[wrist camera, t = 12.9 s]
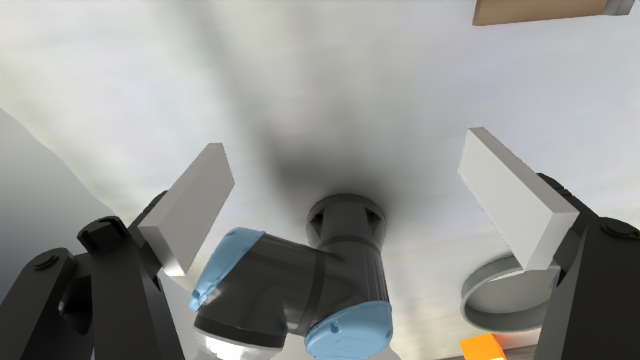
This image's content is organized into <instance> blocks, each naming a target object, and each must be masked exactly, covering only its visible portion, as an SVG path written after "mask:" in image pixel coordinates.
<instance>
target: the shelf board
mask: <svg viewBox="0 0 640 360" xmlns="http://www.w3.org/2000/svg"><path fill="white" fill-rule="evenodd" d="M634 2H635V0H477V3H476V9H475V14H474V19H473V24H472V25H475V26H484V25H495V24H506V23H517V22H528V21H539V20H550V19H561V18H572V17H583V16H594V15H612V16H620V15H628V14H629V12H630V10H631V8H632V6H633V4H634Z"/></svg>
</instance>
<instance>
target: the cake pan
mask: <svg viewBox="0 0 640 360" xmlns="http://www.w3.org/2000/svg"><path fill="white" fill-rule="evenodd" d="M559 269H560V266H559V264H557V263H556V262H554V261H551V263H550V265H549V266H548V268H547V270H530V271H525V272H524V273H521V274H518V275H514V276H510V277H506V278H502V279H499V280H495V281H491V282H488V281H490V280H492V279H494V278H497V277H499V276H502V275H505V274H508V273H511V272H515V271H520V270H524V269H523V267H522V266H521V264H520V263H519V262H518V260H517V259H516V257H509V258H505V259H501V260H498V261H495V262H492V263H490V264H488V265H486V266H484V267H482V268H480V269H479V270H477V271H476V272H474V273H473V274H472V275H471V276H470V277H469V278H468V279H467V280H466V281H465V283H464V285H463V287H462V302H461V306H460V310H461V314H462V316H463V318H464V319H465V321H466V322H468V323H469V324H470V325H472V326H474V327H476V328H478V329H481V330H485V331H490V332H498V333H514V332H523V331H529V330H533V329H537V328H541V327H542V326H543V322H544V318H545V315H546V311H547V307H548V303H549V300H550V296H551V292H552V289H553V288H550V287H549V285H550V283H551V282H552V280H553V279H554V277H555V275H556V274H557V272H558V271H559Z"/></svg>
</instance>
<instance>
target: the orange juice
mask: <svg viewBox="0 0 640 360" xmlns="http://www.w3.org/2000/svg"><path fill="white" fill-rule="evenodd" d="M459 343H460V345H461V348H462V351H463V354H464V357H465V359H466V360H507V359H506V357H505V355H504V353H503V351H502V349H501V347H500V345H499V343H498V342H497V341H496V339H495V338H494V337H493V336H492V334H491V333H489V334H486V335H482V336H478V337H474V338H470V339H467V340H463V341H459Z"/></svg>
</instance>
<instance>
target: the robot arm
mask: <svg viewBox="0 0 640 360" xmlns="http://www.w3.org/2000/svg"><path fill="white" fill-rule="evenodd" d="M458 175H459V176H460V178H461V179H462V181H463V182H464V184H465V185H466V186H467V188H468V189H469V191H470V192H471V194H472V195H473V197H474V198H475V199H476V201H477V202H478V204H479V205H480V207H481V208H482V210H483V211H484V212H485V214H486V215H487V217H488V218H489V220H490V221H491V223H492V224H493V225H494V227H495V228H496V230H497V231H498V233H499V234H500V236H501V237H502V238H503V240H504V241H505V243H506V244H507V246H508V247H509V249H510V250H511V251H512V253H513V254H514V256H515V257H516V259H517V260H518V262H519V263H520V264H521V266H522V267H523V269H524V270H547V268H548V266H549V265H550V263H551V261H552V259H553V258H554V260H555V261H556V262H557V263H558V264H559V266H560V269H559V271H558V272H557V274H556V275H555V277H554V279H553V280H552V282H551V283H550V285H549V287H550V288H553V289H552V292H551V296H550V300H549V303H548V307H547V311H546V315H545V318H544V322H543V326H542V329H541V333H540V337H539V340H538V344H537V348H536V351H535V355H534V359H533V360H640V231H639V230H638V229H637V228H635V227H633V226H631V225H630V224H628V223H625V222H622V221H620V220H617V219H612V218H608V217H599V216H598V215H597V214H595V213H594V212H593V211H592V210H591V209H589V208H588V207H587V206H586V205H585V204H583V203H582V202H581V201H580V200H579V199H577V198H576V197H575V196H572V194H571V193H570V192H569V191H568V190H567V189H564V187H563V186H562V185H561V184H559V183H558V182H557V181H556V180H555V179H552V178H550V177H548V176H546V175H544V174H542V173H535V172H534V171H532V170H531V169H530V168H529V167H528V166H527V165H526V164H525V163H523V162H522V161H521V160H520V159H519V158H518V157H517V156H515V155H514V154H513V153H512V152H511V151H510V150H509V149H507V148H506V147H505V146H504V145H503V144H502V143H501V142H500V141H498V140H497V139H496V138H495V137H494V136H493V135H492V134H490V133H489V132H488V131H487V130H486V129H485V128H484V127H479V128H468V129H467V134H466V138H465V142H464V147H463V151H462V156H461V160H460V164H459V169H458ZM234 184H235V182H234V179H233V176H232V173H231V170H230V166H229V163H228V160H227V157H226V154H225V151H224V147H223V144H222V143H210V144H208V145H207V146H206V147H205V149H204V150H203V151H202V152H201V153H200V154H199V156H198V157H197V158H196V159H195V160H194V161H193V162H192V164H191V165H190V166H189V167H188V168H187V169H186V171H185V172H184V173H183V174H182V175H181V176H180V178H179V179H178V180H177V181H176V182H175V183H174V185H173V186H172V187H171V188H170V189H169V190H166V191H164V192H162V193H161V194H159V195H158V196H156V197H155V198H154V199H153V200H152V201H151V203H150V204H149V206H147V207H146V208H145V209H144V210H143V213H141V214H140V215H139V216H138V217H137V218H136V219H135V220H134V222H133V223H132V224H131V225H130V226H129V227H128V228H126V227H125V225H124V224H123V222H122V221H121V219H120V218H119V217H117V216H107V217H104V218H100V219H98V220H95V221H94V222H91V223H90V224H88V225H87V226H85V227H84V228H83V229H82V230H81V231H80V232H79V233H78V235H77V239H78V240H79V241H80V242H81V244H82V245H83V246H84V247H85V248H86V250H87V251H88V252H87V253H84V254H79V255H75V256H73V255H72V254H71V253H70V252H69V251H68V250H67V249H66V248H56V249H52V250H49V251H47V252H44V253H42V254H40V255H38V256H36V257H35V258H34V259H33V260H31V261H30V262H29V263H28V264H27V265H26V266H25V267H24V268H23V269H22V271H21V273H20V275H19V276H18V278H17V279H16V281H15V283H14V284H13V286H12V287H11V289H10V291H9V292H8V294H7V296H6V297H5V299H4V301H3V302H2V304H1V305H0V360H90V359H91V356H92V351H93V348H94V353H95V360H185V357H184V354H183V351H182V348H181V345H180V341H179V338H178V335H177V332H176V329H175V325H174V322H173V319H172V316H171V313H170V309H169V306H168V303H167V300H166V297H165V294H164V291H163V287H162V284H161V281H160V279H159V277H158V276H157V273H158V271H159V270H160V268H161V267H163V269H164V271H165V272H166V274H167V275H168V276H179V275H186V273H187V271H188V270H189V268H190V266H191V264H192V262H193V260H194V258H195V257H196V255H197V253H198V251H199V249H200V247H201V245H202V244H203V242H204V240H205V238H206V236H207V234H208V232H209V231H210V229H211V227H212V225H213V223H214V221H215V219H216V218H217V216H218V214H219V212H220V210H221V208H222V206H223V205H224V203H225V201H226V199H227V197H228V195H229V193H230V192H231V190H232V188H233V186H234ZM306 232H307V237H308V240H309V243H310V247H309V246H305V245H302V244H298V243H295V242H292V241H289V240H285V239H282V238H279V237H276V236H273V235H269V234H266V232H265V231H262V232H260V231H256V230H252V229H248V228H244V227H236V228H233V229H232V230H230V231H229V232H228V233H227V234H226V235H225V236H224V237H223V239H222V240H221V242H220V243H219V245H218V246H217V248H216V249H215V251H214V253H213V254H212V256H211V258H210V259H209V261H208V263H207V265H206V266H205V268H204V270H203V272H202V274H201V276H200V278H199V280H198V282H197V284H196V287H195V289H194V291H193V294H192V295H191V297H190V300H189V307H190V308H191V309H192V310H193V311H195V312H197V311H198V315H197V317H196V320H195V322H194V325H193V330H194V332H195V335H196V337H197V340H198V343H199V347H198V350H197V353H196V356H195V358H194V360H269V359H270V358H272V357H273V356H275V355H276V354H277V353H279V352H280V351H282V349H283V346H284V342H285V338H286V335H287V333H292V334H296V335H300V336H303V337H305V340H304V344H305V346H306V351H307V352H308V354H309V355H310V356H313V357H314V358H315V359H317V360H362V359H365V358H369V357H371V356H373V355H375V354H377V353H379V352H380V351H382V350H383V349H384V348H385V347H386V346H387V345H388V344H389V342H390V341H391V338H392V335H393V324H392V313H391V312H392V307H391V304H390V302H389V296H388V291H387V286H386V280H385V275H384V269H383V264H382V259H381V250H382V246H383V242H384V238H385V232H386V227H385V221H384V217H383V214H382V212H381V210H380V209H379V207H378V206H377V205H376V204H374V203H373V202H372V201H370V200H368V199H366V198H364V197H361V196H358V195H352V194H340V195H334V196H331V197H328V198H326V199H323V200H322V201H320V202H319V203H317V204H316V205H315V206H314V207H313V208H312V210H311V211H310V213H309V215H308V219H307V227H306Z"/></svg>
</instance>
